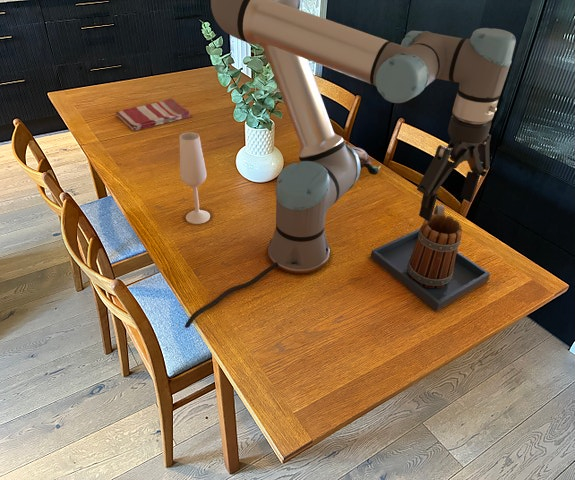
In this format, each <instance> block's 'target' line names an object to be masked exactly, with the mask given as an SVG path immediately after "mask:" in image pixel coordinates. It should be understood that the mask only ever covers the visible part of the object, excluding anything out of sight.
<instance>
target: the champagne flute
mask: <svg viewBox="0 0 575 480" xmlns="http://www.w3.org/2000/svg"><path fill="white" fill-rule="evenodd" d="M179 176H180V177H179V178H180V180H181V181H182V183H184V185H186V186H188V187H190V188H192V194H193V204H194V209H193V210H192V211H189V212H188V213H187V214H186V215H185V220H186V221H187V222H188V223H189V224H193V225H200V224H204V223H206V222H208V221H209V220H210V218H211V214H210V212H208V211H207V210H205V209H204V210H203V209H200V202H199V192H198V188H199V187H200V186H201V185H202V184H203V183H204V182H205V181H206V179H207V177H208V174H207V169H206V164H205V159H204V154H203V147H202V143H201V138H200V134H199V133H197V132H195V131H194V132H193V131H186V132H183V133H181V134H180V135H179Z"/></svg>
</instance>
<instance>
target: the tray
mask: <svg viewBox="0 0 575 480" xmlns="http://www.w3.org/2000/svg"><path fill="white" fill-rule="evenodd" d="M420 228H421V227H420ZM420 228H417V229H415V230H413V231H411V232H408V233H407V234H404V235H402V236H400V237H397V238H396V239H393V240H391V241H389V242H387V243H385V244H382V245H381V246H378V247H376V248H374V249H372V250H371V252H370V259H371V260H372V261H373V262H375V263H376V265H378V266H379V267H381V268H382V269H383V270H384V271H386V272H387V273H389V274H390V275H391V276H392V277H393V278H394V279H396V280H397V281H398V282H399V283H400V284H402V285H403V286H405V287H406V288H407V289H408V290H409V291H411V292H412V293H413V294H414V295H415V296H416V297H418V298H419V299H421V300H422V301H423V302H424V303H425V304H427V306H429V307H431V309H433V310H434V311H435V312H438V311H439V310H442V309H443V308H445V307H446V306H448V305H450V304H452V303H453V302H454V301H456V300H459V299H460V298H462V297H463V296H464V295H467V294H468V293H470V292H472V291H473V290H475V289H476V288H478V287H480V286H482V285H483V284H485V283H487V282H488V281H489V279H490V275H491V272H489V271H487V270H486V269H485V268H484V267H481V265H479V264H477V263H476V262H474V261H473V260H471V259H469V258H468V257H467V256H465V255H464V254H462V253H460V252H459V251H458V250H457V254H456V258H455V263H454V267H453V268H454V269H453V275H452V278H451V280H450V282H449V283H448V284H447V285H445V286H444V287H440V288H427V287H423V286H421V285H419V284H417V283H416V282H415V281H413V280H412V279H411V278H410V277H409V275H408V273H407V265H408V261H409V258H410V257H411V255H412V253H413V250H414V247H415V244H416V242H417V239H418V234H419V231H420Z"/></svg>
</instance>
